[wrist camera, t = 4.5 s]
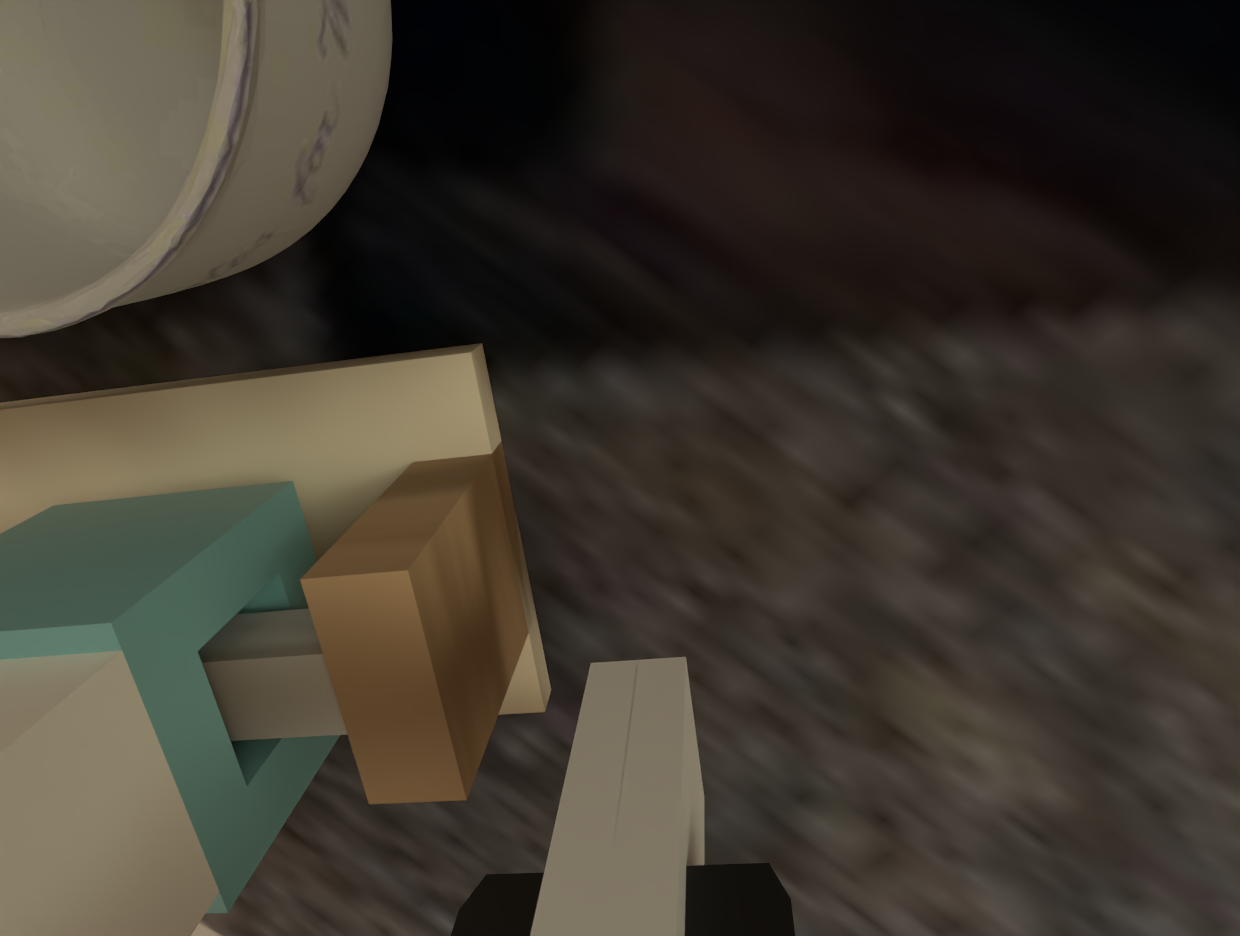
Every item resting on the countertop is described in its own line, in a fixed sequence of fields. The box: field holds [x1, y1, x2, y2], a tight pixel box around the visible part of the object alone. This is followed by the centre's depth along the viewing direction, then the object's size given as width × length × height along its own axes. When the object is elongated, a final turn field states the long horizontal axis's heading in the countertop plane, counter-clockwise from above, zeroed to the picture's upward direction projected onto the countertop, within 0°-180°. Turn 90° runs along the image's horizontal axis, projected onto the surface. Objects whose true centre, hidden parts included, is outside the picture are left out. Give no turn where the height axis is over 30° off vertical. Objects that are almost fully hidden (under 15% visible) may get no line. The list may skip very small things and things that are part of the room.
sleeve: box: [0, 481, 340, 936], centre depth 15 cm, size 6×6×10 cm
